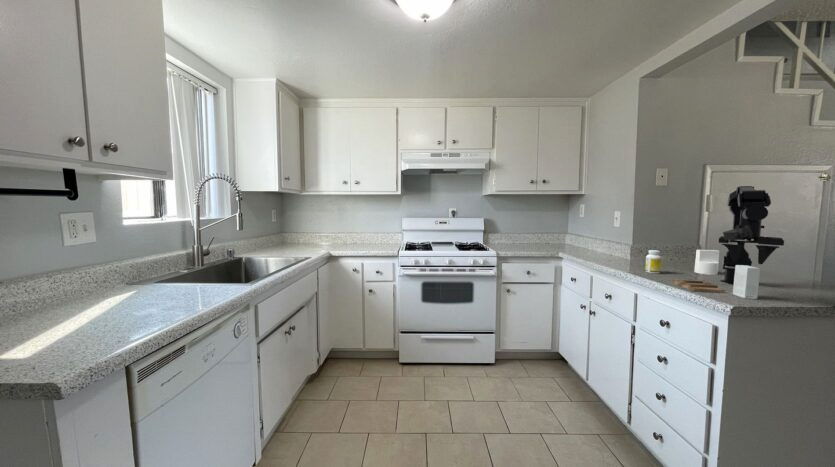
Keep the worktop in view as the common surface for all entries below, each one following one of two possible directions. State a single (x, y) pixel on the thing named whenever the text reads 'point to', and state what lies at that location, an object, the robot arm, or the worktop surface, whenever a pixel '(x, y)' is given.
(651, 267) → the pill bottle
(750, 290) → the skincare box
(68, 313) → the worktop surface
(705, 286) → the wooden slatted trivet
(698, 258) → the cylinder with rectangular tab
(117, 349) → the worktop surface
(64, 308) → the worktop surface
